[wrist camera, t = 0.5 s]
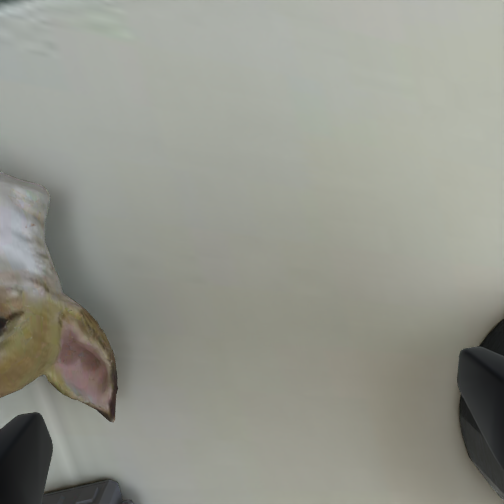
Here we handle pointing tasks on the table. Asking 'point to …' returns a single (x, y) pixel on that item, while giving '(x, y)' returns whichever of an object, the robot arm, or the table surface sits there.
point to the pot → (479, 452)
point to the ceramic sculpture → (45, 311)
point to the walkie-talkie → (88, 494)
